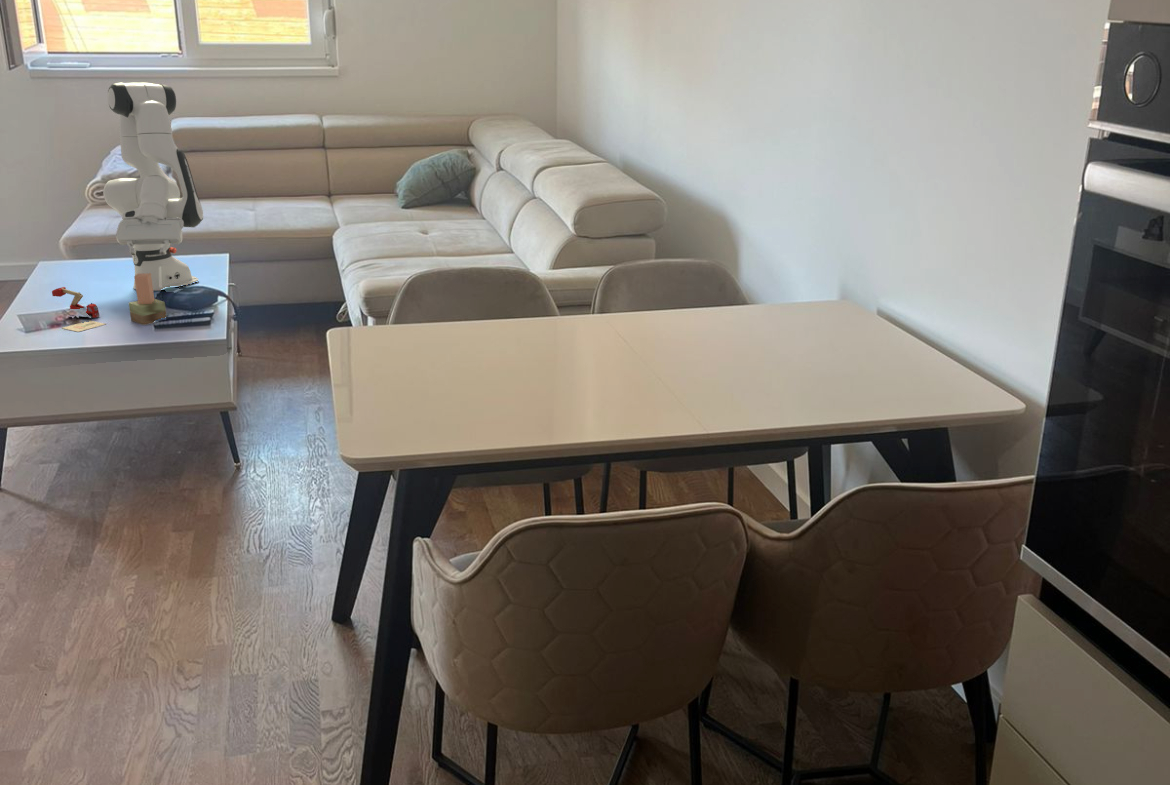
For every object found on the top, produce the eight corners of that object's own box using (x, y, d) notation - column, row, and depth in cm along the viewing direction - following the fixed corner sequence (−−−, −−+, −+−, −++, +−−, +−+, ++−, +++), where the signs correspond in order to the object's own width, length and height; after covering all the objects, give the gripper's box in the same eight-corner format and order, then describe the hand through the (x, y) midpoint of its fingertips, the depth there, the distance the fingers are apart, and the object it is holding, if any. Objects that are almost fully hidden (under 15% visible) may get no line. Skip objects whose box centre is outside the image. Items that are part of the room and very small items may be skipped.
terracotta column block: (141, 300, 345) (137, 273, 342) (154, 300, 345) (150, 273, 342) (138, 304, 341) (134, 276, 338) (151, 303, 341) (147, 276, 338)
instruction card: (89, 320, 344) (89, 320, 344) (106, 324, 340) (105, 323, 340) (61, 328, 336) (61, 327, 336) (78, 332, 332) (78, 331, 332)
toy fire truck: (96, 319, 346) (91, 290, 343) (55, 318, 347) (50, 289, 344) (101, 316, 349) (96, 287, 346) (61, 315, 351) (56, 286, 347)
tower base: (154, 315, 350) (151, 297, 348) (167, 319, 345) (164, 302, 343) (131, 320, 344) (128, 302, 342) (143, 325, 340) (141, 306, 338)
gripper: (186, 223, 355) (183, 258, 349) (123, 224, 353) (118, 259, 347) (181, 212, 349) (178, 248, 343) (117, 213, 347) (112, 249, 341)
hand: (147, 254), depth 345 cm, fingers open, 8 cm apart
